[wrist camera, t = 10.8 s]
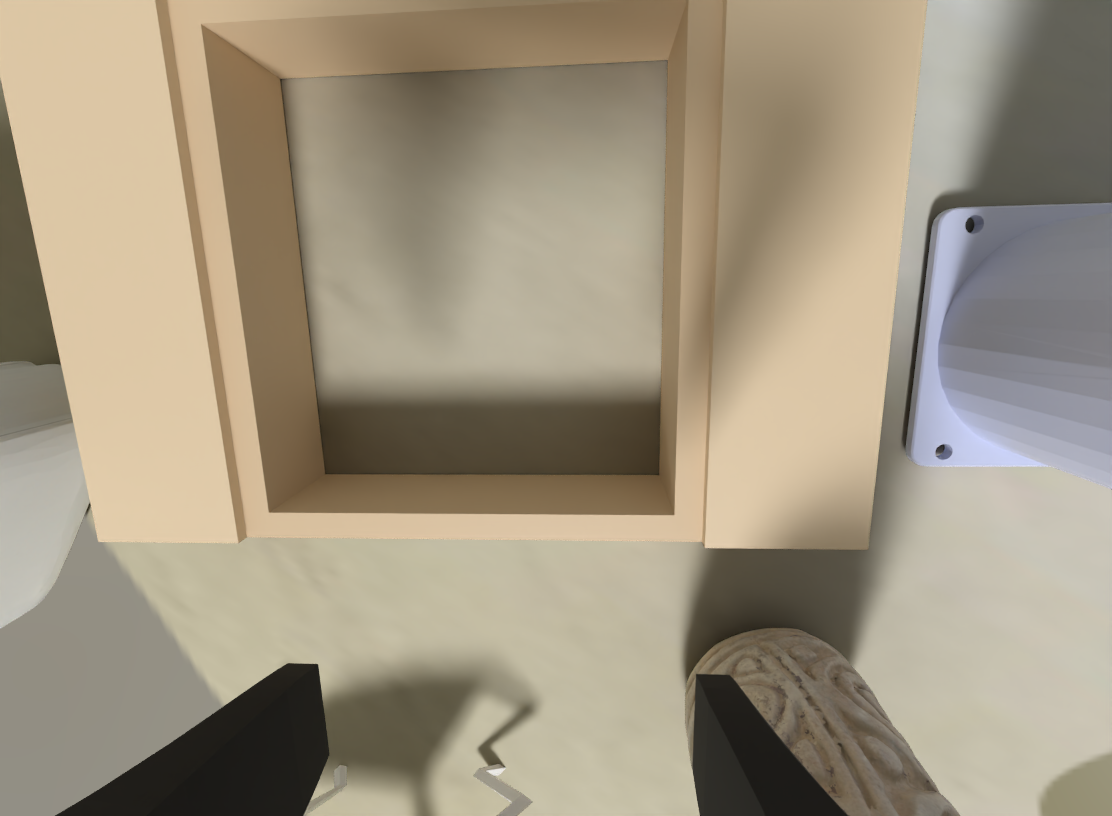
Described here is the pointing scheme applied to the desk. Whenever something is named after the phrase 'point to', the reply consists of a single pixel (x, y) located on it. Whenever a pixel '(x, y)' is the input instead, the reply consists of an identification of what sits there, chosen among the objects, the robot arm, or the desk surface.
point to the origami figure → (482, 774)
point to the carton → (277, 282)
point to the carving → (824, 721)
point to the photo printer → (36, 484)
